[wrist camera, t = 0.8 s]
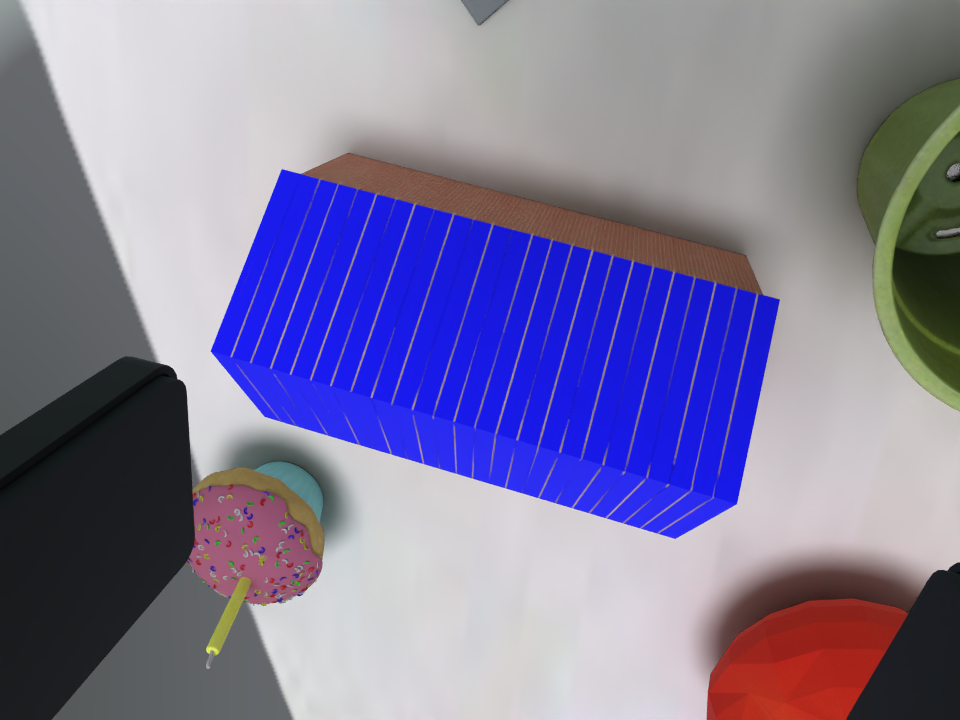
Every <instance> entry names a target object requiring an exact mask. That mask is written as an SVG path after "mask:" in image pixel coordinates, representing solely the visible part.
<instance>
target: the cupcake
mask: <svg viewBox="0 0 960 720" xmlns="http://www.w3.org/2000/svg"><path fill="white" fill-rule="evenodd" d="M193 508H194V525H195V542H194V546H193V549H192V552H191V554H190V556H189V558H188V560H189V561H188V563H190V565H191V566H192V567H193V573H194V572H196V573H197V574H198V576H199V577H200V578H201V580H202V582H204V583H207V584H208V586H209V587H212V588H213V589H215V590H214V591H215V592H217V593H219V594H220V595H221V596H222V595H224V596H225V597H228V598H230V600H229V602H228V605H227V607H226V609H225V611H224V613H223V615H222V617H221V619H220V621H219V623H218V625H217V627H216V629H215V632H214V634H213V636H212V638H211V640H210V642H209V644H208V646H207V649H206V651H207V652H208V653H209V654H210V655H209V658H208V660H207V664H206V667H207V669H209V668H210V664H211V662H212V660H213V656H214V655H217V654H219V652H220V650H221V647H222V645H223V643H224V641H225V639H226V637H227V635H228V632H229V630H230V628H231V626H232V624H233V622H234V619H235V617H236V615H237V613H238V611H239V609H240V606H241V604H242V602H247V603H249V604H253V605H254V604H261V605H263V606H266V605H267V604H269V603H276V602H279V603H280V604H282V603H285V602H286V601H285V600H292V598H293V597H294V596H296V595H297V596H301V595H303V593H304V592H305V591H306V590H307V589H308V588H309V587H310V586H311V585H312V584H313V583H314V582H316V581H317V578H318V576H319V575H320V572H321V569H322V557H323V550H324V531H323V528H322V526H321V525H320V519H321V513H322V509H323V495H322V491H321V489H320V487H319V485H318V483H317V482H316V481H315V479H314V478H313V477H312V476H311V475H310V474H309V473H308V472H306V471H305V470H304V469H302V468H300V467H298V466H296V465H294V464H291V463H287V462H281V461H276V462H269V463H266V464H264V465H262V466H260V467H258V468H257V469H255V470H251V469H248V468H234V469H231V470H227V471H221V472H215V473H212V474H210V475H209V476H207V477H206V478H205V479H203V480H202V481H201V482H200V483H199V484H198V485H197V486H196V487H195V488H194V489H193ZM262 603H263V604H262ZM264 604H265V605H264ZM254 606H255V605H254Z"/></svg>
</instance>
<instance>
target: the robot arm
mask: <svg viewBox="0 0 960 720" xmlns="http://www.w3.org/2000/svg"><path fill="white" fill-rule="evenodd" d="M194 542H195V525H194V508H193V491H192V474H191V457H190V440H189V423H188V406H187V391H186V386H185V384H184V383H183V382H182V381H181V380H178V379H177V375H176V373H175V371H174V369H173V368H171V367H170V366H167V365H163V364H159V363H155V362H151V361H147V360H143V359H139V358H135V357H123V358H121V359H119V360H117V361H115V362H114V363H112V364H111V365H109V366H108V367H106V368H105V369H103V370H102V371H100V372H98V373H97V374H95V375H94V376H92V377H91V378H89V379H87V380H86V381H84V382H83V383H81V384H80V385H78V386H77V387H75V388H73V389H72V390H70V391H69V392H67V393H66V394H64V395H63V396H61V397H59V398H58V399H56V400H55V401H53V402H52V403H50V404H48V405H47V406H45V407H44V408H42V409H41V410H39V411H37V412H36V413H35V414H33V415H32V416H30V417H28V418H27V419H25V420H24V421H22V422H20V423H19V424H17V425H16V426H14V427H12V428H11V429H10V430H8V431H6V432H5V433H3V434H2V435H0V720H52V719H53V717H54V716H55V715H56V714H57V713H58V712H59V710H60V709H61V708H62V707H63V706H64V705H65V703H66V702H67V701H68V700H69V699H70V698H71V696H72V695H73V694H74V693H75V692H76V690H77V689H78V688H79V687H80V686H81V684H82V683H83V682H84V681H85V680H86V679H87V678H88V676H89V675H90V674H91V673H92V672H93V671H94V669H95V668H96V667H97V666H98V665H99V664H100V662H101V661H102V660H103V659H104V658H105V657H106V655H107V654H108V653H109V652H110V651H111V650H112V648H113V647H114V646H115V645H116V643H118V641H119V640H120V639H121V638H122V637H123V636H124V634H125V633H126V632H127V631H128V630H129V628H130V627H131V626H132V625H133V624H134V623H135V622H136V620H137V619H138V618H139V617H140V616H141V614H142V613H143V612H144V611H145V610H146V609H147V607H148V606H149V605H150V604H151V603H152V602H153V600H154V599H155V598H156V597H157V596H158V595H159V594H160V592H161V591H162V590H163V589H164V588H165V586H166V585H167V584H168V583H169V582H170V581H171V580H172V578H173V577H174V576H175V575H176V574H177V572H178V571H179V570H180V569H181V568H182V567H183V565H184V564H185V563H186V561H187V560H188V558H189V556H190V554H191V552H192V549H193V546H194ZM846 720H960V562H959V563H956V564H954V565H953V566H951V567H950V568H949V570H948V571H945V570H938V571H936V572H935V573H933V574H932V576H931V577H930V578H929V580H928V581H927V583H926V585H925V586H924V588H923V590H922V591H921V593H920V595H919V596H918V598H917V600H916V602H915V603H914V605H913V607H912V608H911V610H910V612H909V613H908V615H907V617H906V618H905V620H904V622H903V623H902V625H901V627H900V629H899V630H898V632H897V634H896V635H895V637H894V639H893V640H892V642H891V644H890V645H889V647H888V649H887V650H886V652H885V654H884V656H883V657H882V659H881V661H880V662H879V664H878V666H877V667H876V669H875V671H874V672H873V674H872V676H871V677H870V679H869V681H868V683H867V684H866V686H865V688H864V689H863V691H862V693H861V694H860V696H859V698H858V699H857V701H856V703H855V704H854V706H853V708H852V710H851V711H850V713H849V715H848V716H847V718H846Z"/></svg>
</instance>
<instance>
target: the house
mask: <svg viewBox="0 0 960 720" xmlns="http://www.w3.org/2000/svg"><path fill="white" fill-rule="evenodd" d="M779 301H780V300H779V299H776V298H772V297H768V296H764V295H763V294H762V292H761V289H760V287H759V285H758V282H757V280H756V278H755V275H754V273H753V271H752V269H751V266H750V264H749V262H748V259H747V257H746V255H742V254H738V253H735V252H731V251H727V250H723V249H719V248H715V247H711V246H707V245H703V244H700V243H696V242H692V241H688V240H684V239H680V238H676V237H672V236H669V235H665V234H661V233H657V232H653V231H649V230H645V229H641V228H637V227H634V226H630V225H626V224H622V223H618V222H614V221H610V220H606V219H603V218H599V217H595V216H591V215H587V214H583V213H579V212H575V211H571V210H568V209H564V208H560V207H556V206H552V205H548V204H544V203H540V202H537V201H533V200H529V199H525V198H521V197H517V196H513V195H509V194H505V193H502V192H498V191H494V190H490V189H486V188H482V187H478V186H474V185H471V184H467V183H463V182H459V181H455V180H451V179H447V178H443V177H439V176H436V175H432V174H428V173H424V172H420V171H416V170H412V169H408V168H405V167H401V166H397V165H393V164H389V163H385V162H381V161H377V160H373V159H370V158H366V157H362V156H358V155H354V154H350V153H347V154H345V155H342V156H340V157H338V158H336V159H333V160H331V161H329V162H327V163H325V164H322V165H320V166H318V167H316V168H313V169H311V170H309V171H307V172H304V173H302V174H298V173H294V172H290V171H287V170H283V169H282V170H281V173H280V175H279V178H278V180H277V183H276V186H275V188H274V191H273V193H272V196H271V198H270V201H269V204H268V206H267V209H266V211H265V214H264V216H263V219H262V221H261V224H260V227H259V229H258V232H257V234H256V237H255V239H254V242H253V244H252V247H251V250H250V252H249V255H248V257H247V260H246V262H245V265H244V267H243V270H242V273H241V275H240V278H239V280H238V283H237V285H236V288H235V291H234V293H233V296H232V298H231V301H230V303H229V306H228V308H227V311H226V314H225V316H224V319H223V321H222V324H221V326H220V329H219V331H218V334H217V337H216V339H215V342H214V344H213V347H212V349H211V352H212V353H213V355H214V356H215V357H216V358H217V359H218V361H219V362H220V363H221V364H222V366H223V367H224V368H225V369H226V370H227V372H228V373H229V374H230V375H231V376H232V378H233V379H234V380H235V381H236V382H237V384H238V385H239V386H240V387H241V389H242V390H243V391H244V392H245V393H246V395H247V396H248V397H249V398H250V399H251V401H252V402H253V403H254V404H255V405H256V407H257V408H258V409H259V410H260V412H261V413H262V414H263V415H264V416H265V417H267V418H271V419H274V420H278V421H281V422H284V423H288V424H291V425H294V426H298V427H301V428H304V429H308V430H311V431H315V432H318V433H321V434H325V435H328V436H331V437H335V438H338V439H341V440H345V441H348V442H352V443H355V444H358V445H362V446H365V447H368V448H372V449H375V450H378V451H382V452H385V453H389V454H392V455H395V456H399V457H402V458H405V459H409V460H412V461H415V462H419V463H422V464H426V465H429V466H432V467H436V468H439V469H442V470H446V471H449V472H452V473H456V474H459V475H463V476H466V477H469V478H473V479H476V480H479V481H483V482H486V483H489V484H493V485H496V486H500V487H503V488H506V489H510V490H513V491H516V492H520V493H523V494H526V495H530V496H533V497H537V498H540V499H543V500H547V501H550V502H553V503H557V504H560V505H563V506H567V507H570V508H574V509H577V510H580V511H584V512H587V513H590V514H594V515H597V516H600V517H604V518H607V519H611V520H614V521H617V522H621V523H624V524H627V525H631V526H634V527H637V528H641V529H644V530H648V531H651V532H654V533H658V534H661V535H664V536H668V537H671V538H674V539H676V538H678V537H679V536H681V535H683V534H685V533H686V532H688V531H690V530H692V529H694V528H695V527H697V526H699V525H701V524H702V523H704V522H706V521H708V520H709V519H711V518H713V517H715V516H717V515H718V514H720V513H722V512H724V511H725V510H727V509H729V508H731V507H732V506H734V505H736V504H737V501H738V496H739V491H740V487H741V482H742V477H743V472H744V468H745V463H746V458H747V453H748V448H749V444H750V439H751V434H752V429H753V425H754V420H755V415H756V410H757V406H758V401H759V396H760V391H761V387H762V382H763V377H764V372H765V368H766V363H767V358H768V353H769V348H770V344H771V339H772V334H773V329H774V325H775V320H776V315H777V310H778V306H779Z"/></svg>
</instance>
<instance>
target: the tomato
mask: <svg viewBox="0 0 960 720" xmlns="http://www.w3.org/2000/svg"><path fill="white" fill-rule="evenodd" d="M907 615H908V613H906V612H905V611H903V610H902V609H900V608H897V607H892V606H888V605H883V604H878V603H873V602H869V601H864V600H859V599H854V598H852V599H833V600H814V601H807V602H804V603H801V604H798V605H795V606H792V607H789V608H786V609H783V610H780V611H777V612H774V613H771V614H769V615H767V616H766V617H764V618H763V619H761V620H760V621H758V622H756V623H755V624H753V625H752V626H750V627H749V628H747V629H745V630H744V631H742V632H741V633H739V634H738V635H737V636H736V638H735V639H734V640H733V642H732V643H731V644H730V646H729V647H728V649H727V650H726V652H725V653H724V655H723V656H722V658H721V659H720V661H719V662H718V664H717V665H716V667H715V668H714V670H713V671H712V673H711V675H710V682H709V688H708V701H707V720H846V718H847V716H848V715H849V713H850V711H851V710H852V708H853V706H854V704H855V703H856V701H857V699H858V698H859V696H860V694H861V693H862V691H863V689H864V688H865V686H866V684H867V683H868V681H869V679H870V677H871V676H872V674H873V672H874V671H875V669H876V667H877V666H878V664H879V662H880V661H881V659H882V657H883V656H884V654H885V652H886V650H887V649H888V647H889V645H890V644H891V642H892V640H893V639H894V637H895V635H896V634H897V632H898V630H899V629H900V627H901V625H902V623H903V622H904V620H905V618H906V617H907Z"/></svg>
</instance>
